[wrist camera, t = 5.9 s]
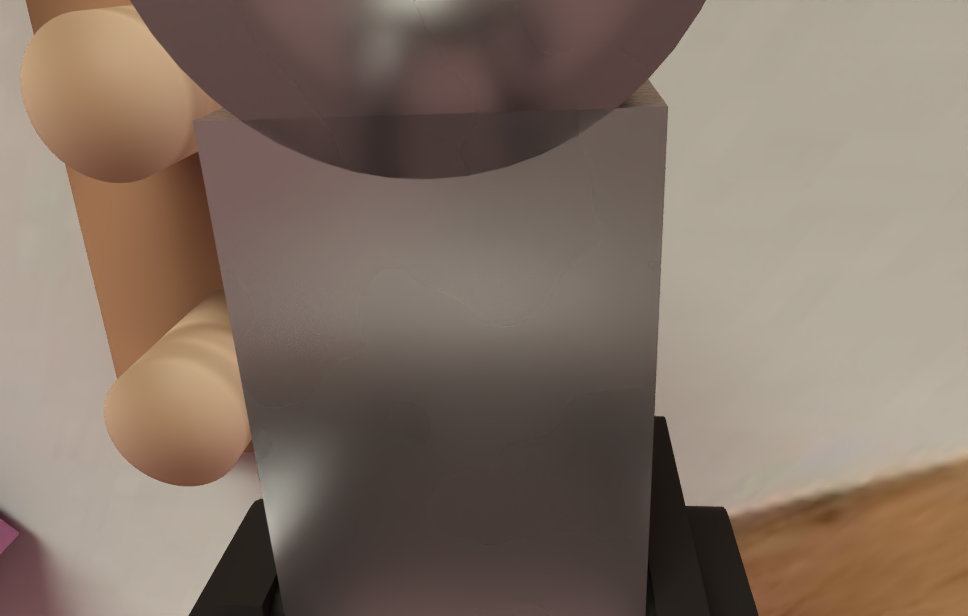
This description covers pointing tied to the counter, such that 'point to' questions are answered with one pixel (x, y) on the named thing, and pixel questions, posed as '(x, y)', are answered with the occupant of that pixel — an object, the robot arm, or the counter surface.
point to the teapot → (6, 535)
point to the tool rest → (142, 232)
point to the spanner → (441, 289)
